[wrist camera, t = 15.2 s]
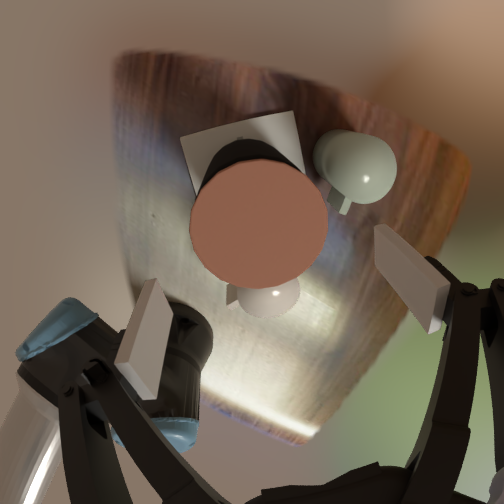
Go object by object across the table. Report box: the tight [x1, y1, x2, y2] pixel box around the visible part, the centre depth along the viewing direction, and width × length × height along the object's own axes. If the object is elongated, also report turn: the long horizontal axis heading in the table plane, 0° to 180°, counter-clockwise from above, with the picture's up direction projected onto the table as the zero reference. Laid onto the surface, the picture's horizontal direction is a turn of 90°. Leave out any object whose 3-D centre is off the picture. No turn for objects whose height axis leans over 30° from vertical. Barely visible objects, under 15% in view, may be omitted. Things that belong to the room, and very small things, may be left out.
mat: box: [180, 111, 306, 196], centre depth 38 cm, size 15×15×1 cm
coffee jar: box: [189, 139, 328, 289], centre depth 30 cm, size 11×11×18 cm
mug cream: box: [226, 278, 300, 318], centre depth 41 cm, size 10×8×9 cm
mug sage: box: [313, 129, 397, 215], centre depth 34 cm, size 10×8×9 cm
